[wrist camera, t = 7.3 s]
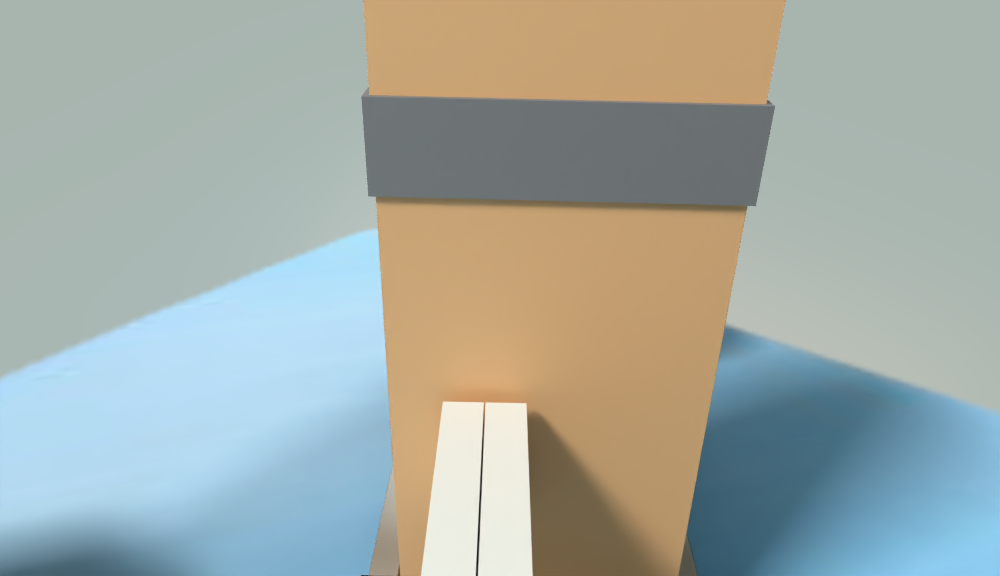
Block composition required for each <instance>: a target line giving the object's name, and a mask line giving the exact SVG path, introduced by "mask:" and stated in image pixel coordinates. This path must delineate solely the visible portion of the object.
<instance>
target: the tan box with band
mask: <svg viewBox="0 0 1000 576" xmlns="http://www.w3.org/2000/svg"><path fill="white" fill-rule="evenodd" d="M785 1H786V0H363V3H364V18H365V34H366V50H367V64H368V81H369V87H368V89H367V90H366V91H365V93H364V94H363V95H362V108H363V124H364V138H365V152H366V166H367V180H368V181H367V182H368V196H375V197H376V204H377V205H376V206H377V221H378V237H379V253H380V268H381V284H382V299H383V315H384V331H385V346H386V362H387V377H388V393H389V409H390V424H391V440H392V455H393V471H394V487H395V502H396V518H397V534H398V549H399V565H400V576H421V571H422V563H423V555H424V547H425V539H426V531H427V523H428V515H429V507H430V499H431V491H432V484H433V476H434V468H435V460H436V452H437V444H438V436H439V428H440V420H441V412H442V404H443V402H484V427H485V404H486V402H489V403H526V404H527V432H528V460H529V488H530V516H531V544H532V572H533V576H678V575H679V570H680V564H681V559H682V553H683V548H684V543H685V537H686V532H687V527H688V521H689V516H690V511H691V505H692V500H693V495H694V489H695V484H696V478H697V473H698V468H699V462H700V457H701V452H702V446H703V441H704V436H705V430H706V425H707V419H708V414H709V409H710V403H711V398H712V393H713V387H714V382H715V377H716V371H717V366H718V361H719V355H720V350H721V344H722V339H723V334H724V328H725V323H726V317H727V312H728V306H729V301H730V296H731V291H732V285H733V280H734V275H735V269H736V264H737V258H738V253H739V248H740V243H741V237H742V232H743V227H744V221H745V216H746V210H747V206H756V202H757V197H758V192H759V187H760V181H761V176H762V171H763V166H764V161H765V155H766V150H767V145H768V140H769V135H770V129H771V124H772V119H773V113H774V109H775V106H774V105H773V104H772V103H770V102H769V101H768V100H767V98H768V92H769V87H770V81H771V77H772V71H773V66H774V60H775V55H776V50H777V44H778V39H779V33H780V28H781V23H782V18H783V12H784V6H785ZM483 450H484V431H483Z"/></svg>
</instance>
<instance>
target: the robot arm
mask: <svg viewBox="0 0 1000 576" xmlns="http://www.w3.org/2000/svg"><path fill="white" fill-rule="evenodd" d="M483 431H484V450H483ZM361 576H372V575H361ZM421 576H533V572H532V544H531V516H530V488H529V460H528V432H527V404H526V403H489V402H486V404H485V427H484V402H443V404H442V412H441V420H440V428H439V436H438V444H437V452H436V460H435V468H434V476H433V484H432V491H431V499H430V507H429V515H428V523H427V531H426V539H425V547H424V555H423V563H422V571H421Z"/></svg>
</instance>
